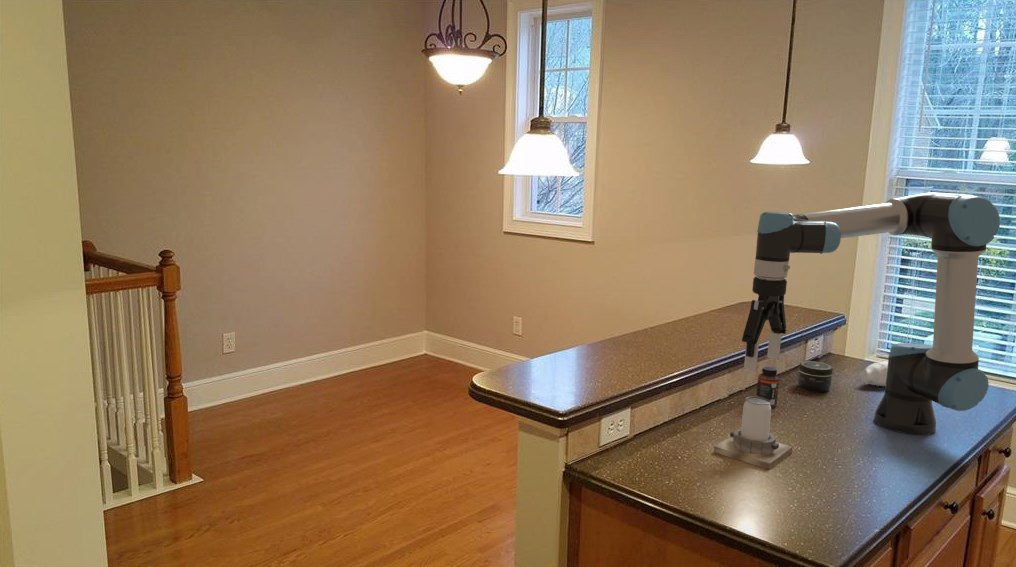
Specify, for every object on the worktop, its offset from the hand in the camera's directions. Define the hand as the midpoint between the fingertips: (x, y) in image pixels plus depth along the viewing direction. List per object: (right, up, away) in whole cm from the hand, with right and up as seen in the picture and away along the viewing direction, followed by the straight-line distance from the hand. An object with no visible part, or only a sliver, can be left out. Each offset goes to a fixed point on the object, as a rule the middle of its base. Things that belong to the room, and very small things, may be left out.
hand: (761, 364), depth 178 cm
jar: (+36, -14, +57) cm, 69 cm away
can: (-1, -21, +4) cm, 21 cm away
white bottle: (+63, -14, +63) cm, 90 cm away
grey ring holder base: (-1, -22, +4) cm, 23 cm away
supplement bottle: (+15, -17, +39) cm, 45 cm away
